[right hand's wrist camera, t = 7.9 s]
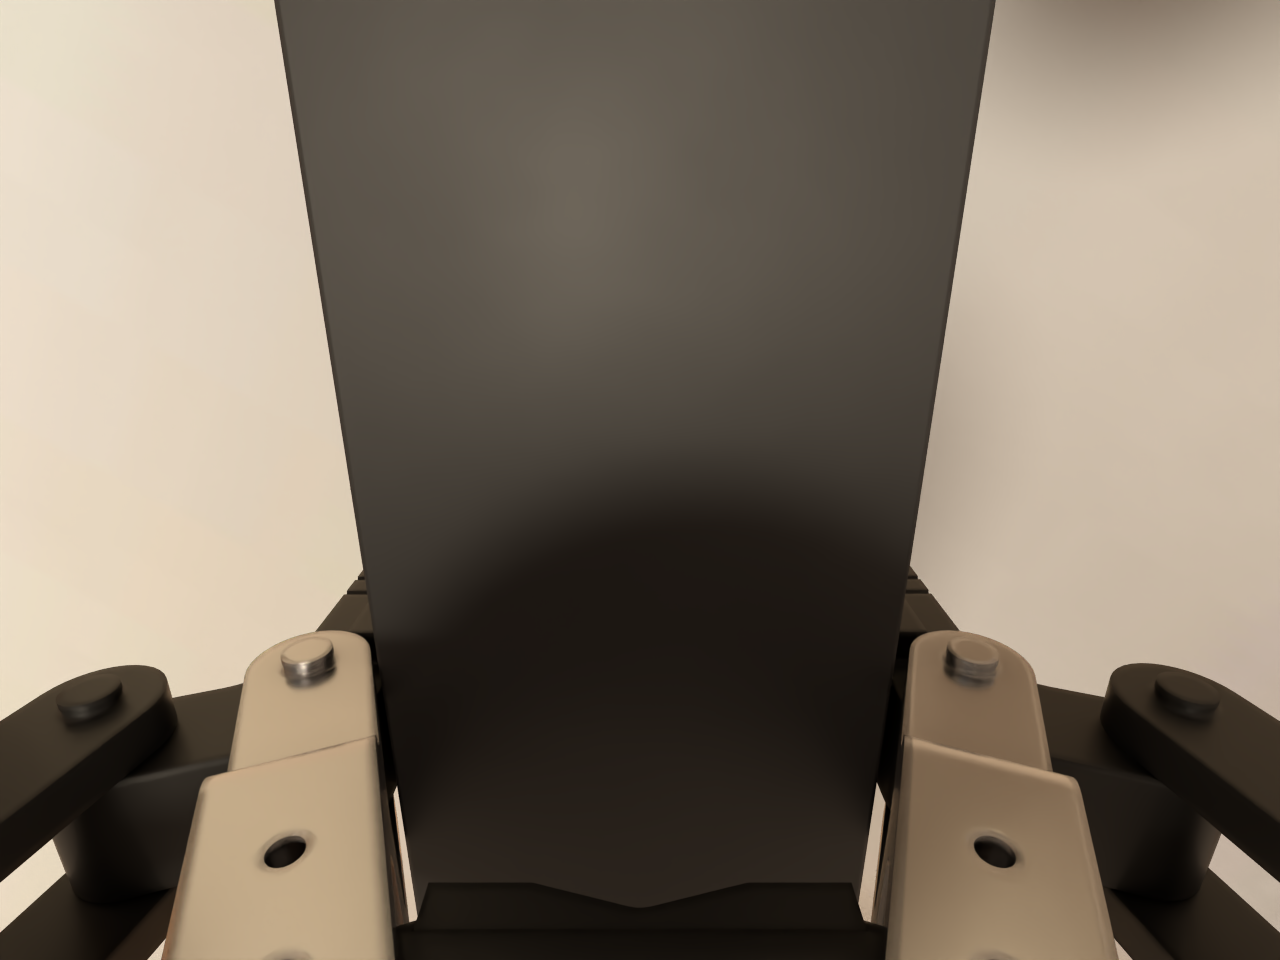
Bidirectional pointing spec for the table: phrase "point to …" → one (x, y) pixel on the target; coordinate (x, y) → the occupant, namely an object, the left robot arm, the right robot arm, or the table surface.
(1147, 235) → the table surface
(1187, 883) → the right robot arm
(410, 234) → the bar
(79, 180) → the table surface
